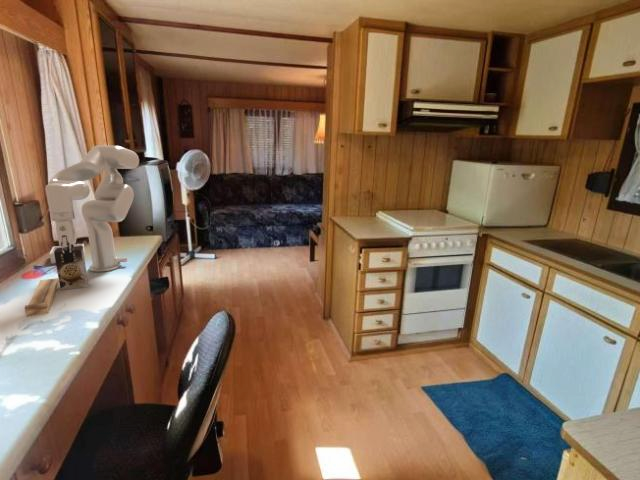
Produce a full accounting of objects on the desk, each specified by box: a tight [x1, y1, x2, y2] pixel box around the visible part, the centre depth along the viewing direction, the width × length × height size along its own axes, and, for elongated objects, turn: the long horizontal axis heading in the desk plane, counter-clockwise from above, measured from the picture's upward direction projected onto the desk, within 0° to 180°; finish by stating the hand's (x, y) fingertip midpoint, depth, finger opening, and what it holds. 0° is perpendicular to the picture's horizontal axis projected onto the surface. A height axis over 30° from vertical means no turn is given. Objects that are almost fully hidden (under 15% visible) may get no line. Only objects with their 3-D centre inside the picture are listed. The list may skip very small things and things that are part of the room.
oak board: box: [23, 277, 60, 318], centre depth 134 cm, size 6×30×4 cm, turn 29°
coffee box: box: [54, 246, 89, 291], centre depth 143 cm, size 9×6×16 cm
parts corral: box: [49, 243, 86, 265], centre depth 176 cm, size 13×12×5 cm
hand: (70, 259), depth 142 cm, fingers closed on coffee box, 6 cm apart
